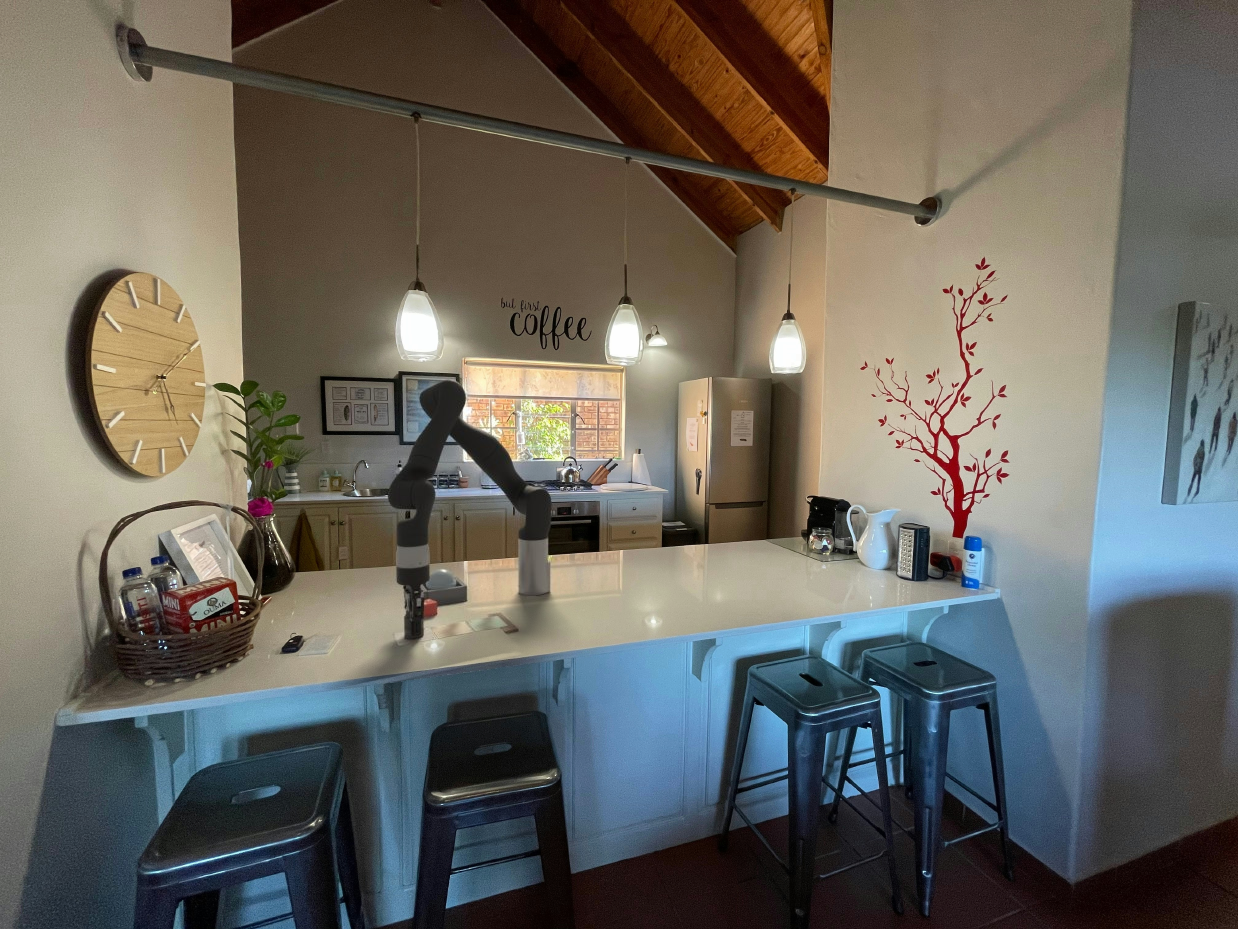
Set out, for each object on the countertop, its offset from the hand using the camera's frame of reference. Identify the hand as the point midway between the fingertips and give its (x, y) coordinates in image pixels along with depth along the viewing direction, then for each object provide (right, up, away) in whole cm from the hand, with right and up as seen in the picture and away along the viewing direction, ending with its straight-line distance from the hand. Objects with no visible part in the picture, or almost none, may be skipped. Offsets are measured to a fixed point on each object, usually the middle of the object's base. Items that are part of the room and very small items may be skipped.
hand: (414, 631), depth 132 cm
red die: (-3, -1, +16) cm, 16 cm away
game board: (+8, -2, +5) cm, 9 cm away
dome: (-4, +2, +32) cm, 32 cm away
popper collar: (-4, 0, +32) cm, 32 cm away
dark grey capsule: (0, -1, 0) cm, 1 cm away
